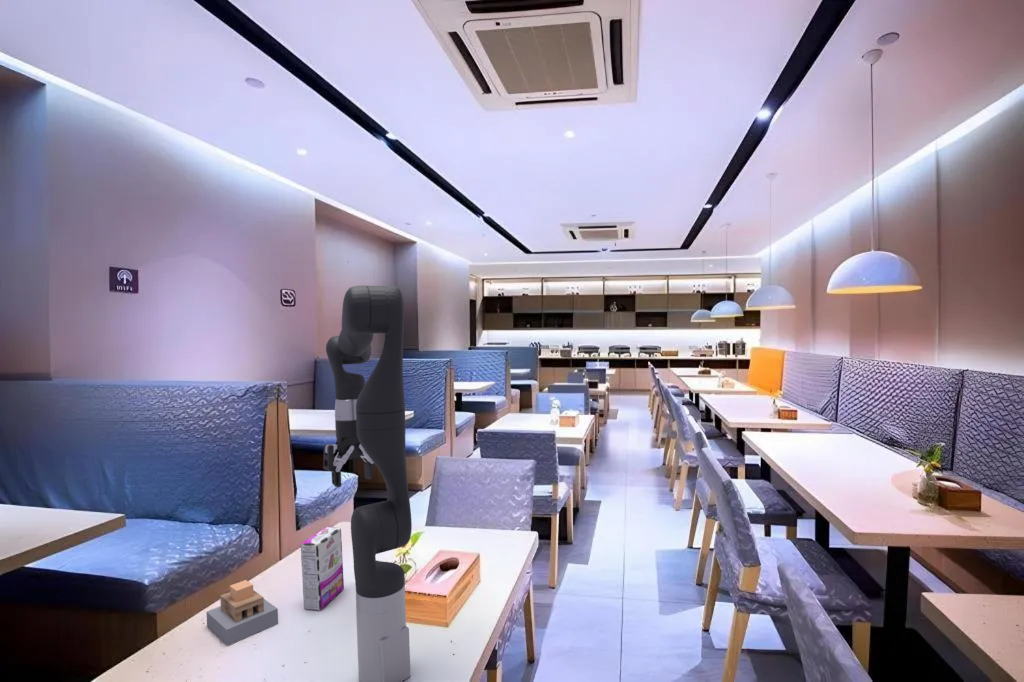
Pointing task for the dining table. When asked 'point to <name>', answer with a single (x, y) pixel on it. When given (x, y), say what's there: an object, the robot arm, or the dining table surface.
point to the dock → (241, 623)
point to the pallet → (241, 606)
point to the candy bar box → (322, 568)
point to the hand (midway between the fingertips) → (353, 482)
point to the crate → (241, 591)
